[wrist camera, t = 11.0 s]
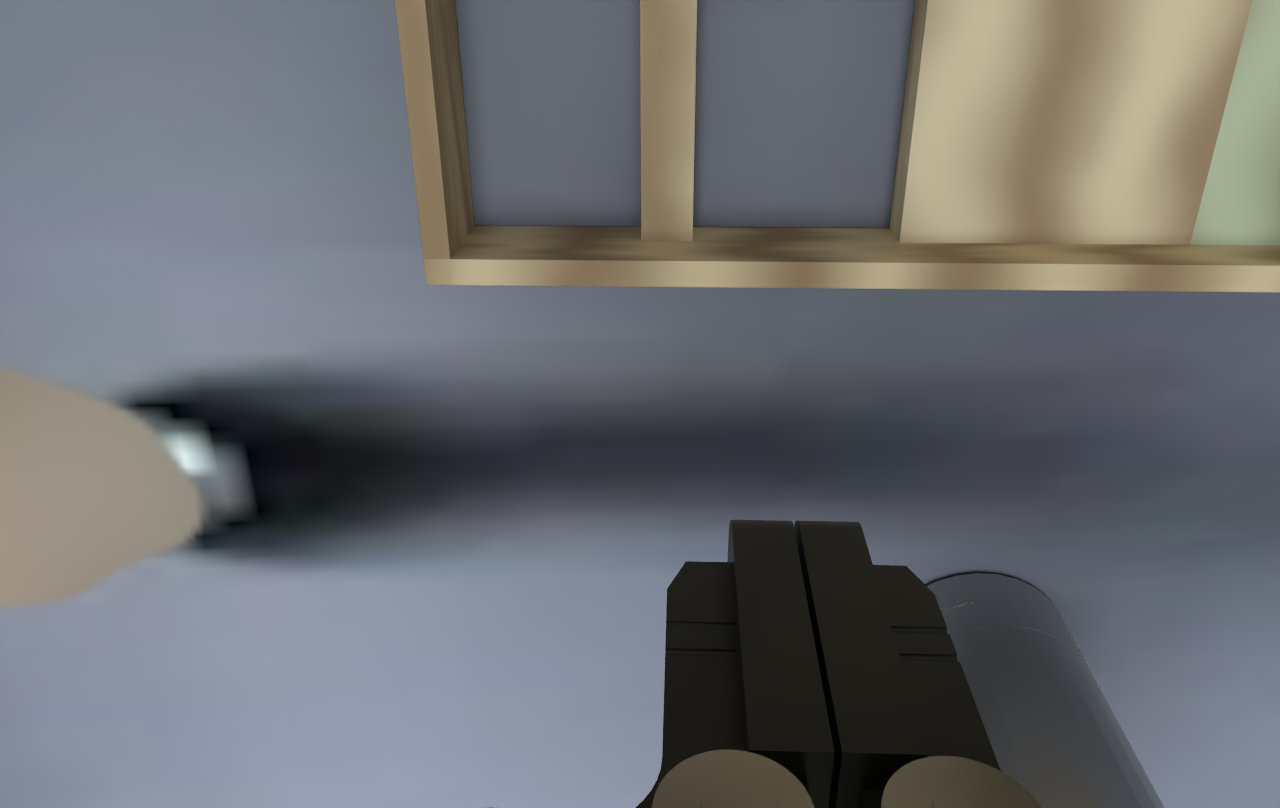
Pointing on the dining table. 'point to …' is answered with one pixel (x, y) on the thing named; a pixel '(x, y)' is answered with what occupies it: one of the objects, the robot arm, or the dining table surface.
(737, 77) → the dining table surface
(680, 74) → the trap lane
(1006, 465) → the dining table surface
